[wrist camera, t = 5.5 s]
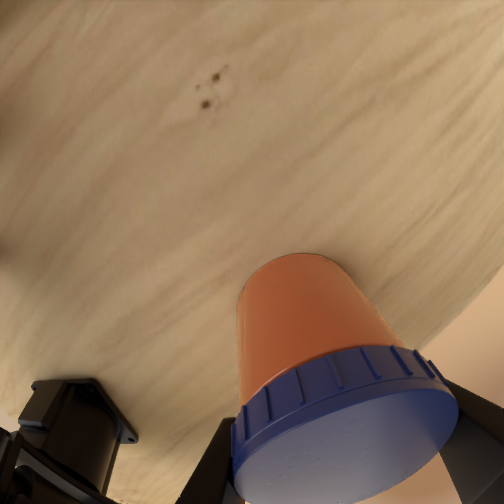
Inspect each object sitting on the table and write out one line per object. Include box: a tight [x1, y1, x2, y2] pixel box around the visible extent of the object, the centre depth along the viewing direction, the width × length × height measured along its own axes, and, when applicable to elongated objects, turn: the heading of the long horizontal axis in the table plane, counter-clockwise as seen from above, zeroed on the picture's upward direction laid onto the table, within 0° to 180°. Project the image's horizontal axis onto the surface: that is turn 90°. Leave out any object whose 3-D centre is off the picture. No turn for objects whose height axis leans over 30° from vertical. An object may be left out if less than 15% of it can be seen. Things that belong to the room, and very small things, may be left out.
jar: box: [237, 254, 406, 411], centre depth 11 cm, size 6×6×8 cm
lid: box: [231, 344, 459, 504], centre depth 7 cm, size 7×7×2 cm
